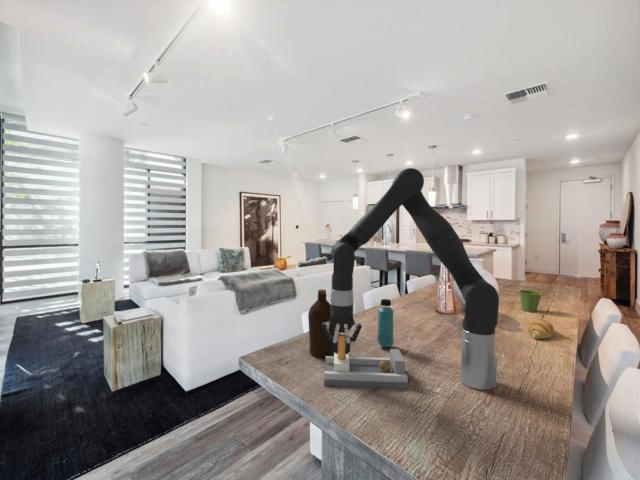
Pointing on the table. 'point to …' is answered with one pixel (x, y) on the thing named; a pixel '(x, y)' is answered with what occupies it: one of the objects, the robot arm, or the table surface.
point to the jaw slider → (341, 355)
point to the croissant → (541, 329)
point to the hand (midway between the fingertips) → (341, 352)
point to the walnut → (384, 366)
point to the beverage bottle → (385, 324)
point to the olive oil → (320, 327)
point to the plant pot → (529, 300)
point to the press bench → (368, 372)
